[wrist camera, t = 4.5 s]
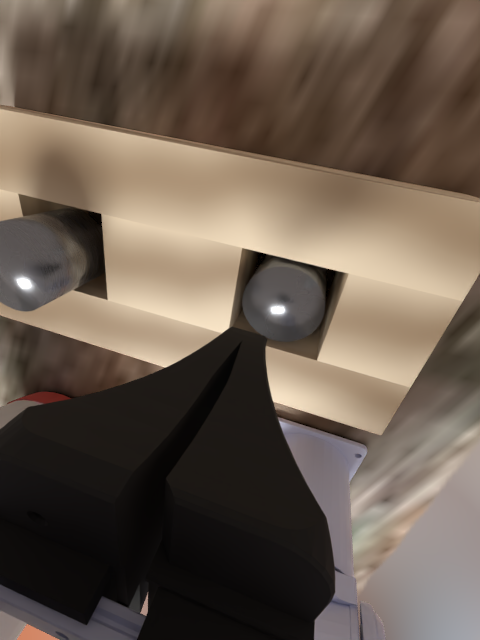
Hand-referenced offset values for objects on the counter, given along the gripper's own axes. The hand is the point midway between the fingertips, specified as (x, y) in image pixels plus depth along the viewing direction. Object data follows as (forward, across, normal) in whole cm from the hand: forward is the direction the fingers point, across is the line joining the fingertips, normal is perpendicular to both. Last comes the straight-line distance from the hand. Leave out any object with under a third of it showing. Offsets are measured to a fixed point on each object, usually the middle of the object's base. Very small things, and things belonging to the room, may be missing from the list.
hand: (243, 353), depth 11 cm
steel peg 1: (+6, +11, 0) cm, 13 cm away
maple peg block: (+9, +5, 0) cm, 11 cm away
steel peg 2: (+10, -1, 0) cm, 10 cm away
